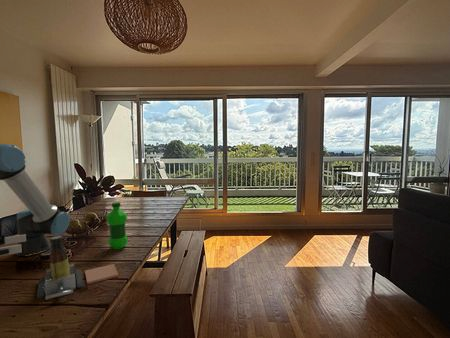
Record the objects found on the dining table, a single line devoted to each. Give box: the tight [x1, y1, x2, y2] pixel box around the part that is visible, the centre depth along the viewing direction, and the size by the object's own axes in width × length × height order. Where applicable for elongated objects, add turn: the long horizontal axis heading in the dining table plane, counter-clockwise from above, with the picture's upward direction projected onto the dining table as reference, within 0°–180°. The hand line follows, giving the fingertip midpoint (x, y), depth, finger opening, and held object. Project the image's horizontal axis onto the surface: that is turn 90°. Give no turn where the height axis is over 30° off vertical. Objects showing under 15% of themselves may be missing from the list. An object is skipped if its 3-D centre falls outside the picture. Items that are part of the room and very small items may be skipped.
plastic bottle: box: [106, 201, 129, 250], centre depth 145 cm, size 10×10×25 cm
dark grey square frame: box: [36, 262, 84, 300], centre depth 104 cm, size 21×15×5 cm
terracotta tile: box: [84, 263, 119, 285], centre depth 115 cm, size 12×12×1 cm
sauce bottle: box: [48, 235, 70, 279], centre depth 107 cm, size 6×6×20 cm
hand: (23, 242), depth 100 cm, fingers open, 13 cm apart
